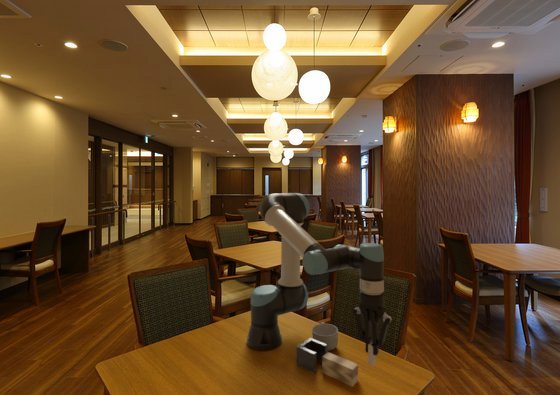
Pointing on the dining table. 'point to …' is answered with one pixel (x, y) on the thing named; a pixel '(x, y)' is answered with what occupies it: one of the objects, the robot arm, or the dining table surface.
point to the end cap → (310, 354)
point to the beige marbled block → (340, 369)
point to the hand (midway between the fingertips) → (372, 363)
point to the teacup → (326, 335)
